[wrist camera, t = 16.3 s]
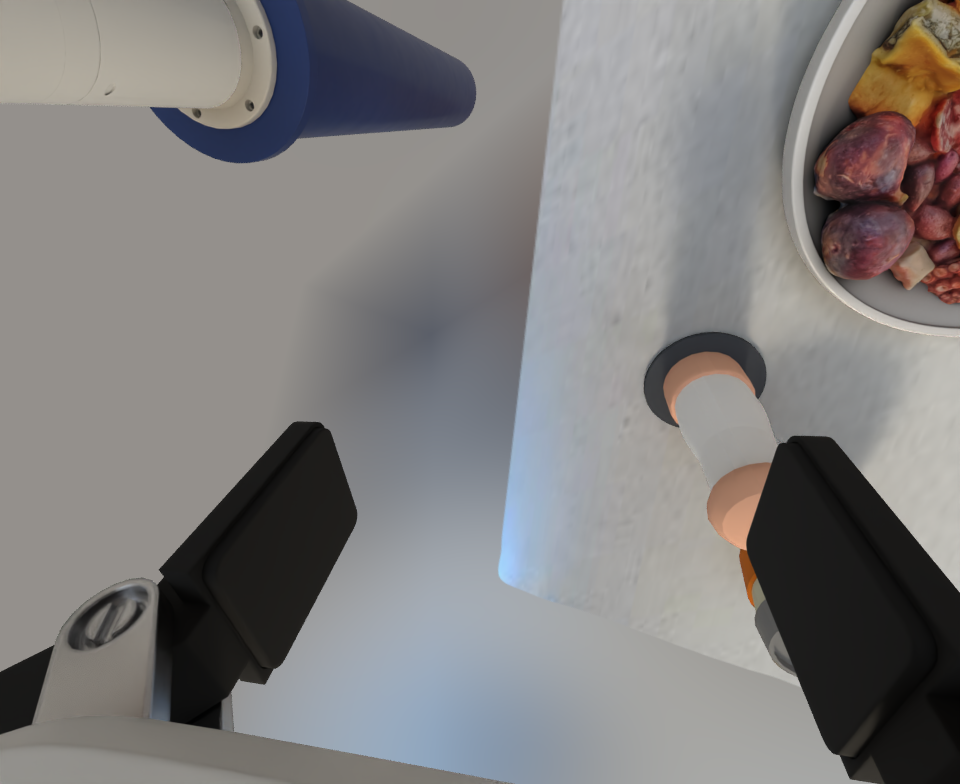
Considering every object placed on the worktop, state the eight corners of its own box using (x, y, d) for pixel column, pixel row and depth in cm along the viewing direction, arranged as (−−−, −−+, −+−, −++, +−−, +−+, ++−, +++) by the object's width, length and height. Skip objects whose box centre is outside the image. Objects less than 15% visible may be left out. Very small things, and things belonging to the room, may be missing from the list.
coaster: (638, 426, 47) (639, 428, 47) (650, 332, 42) (650, 334, 41) (750, 429, 45) (751, 431, 45) (778, 331, 39) (780, 332, 39)
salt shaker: (652, 406, 45) (698, 563, 29) (679, 344, 41) (748, 487, 25) (723, 420, 45) (809, 589, 29) (757, 359, 41) (879, 515, 25)
